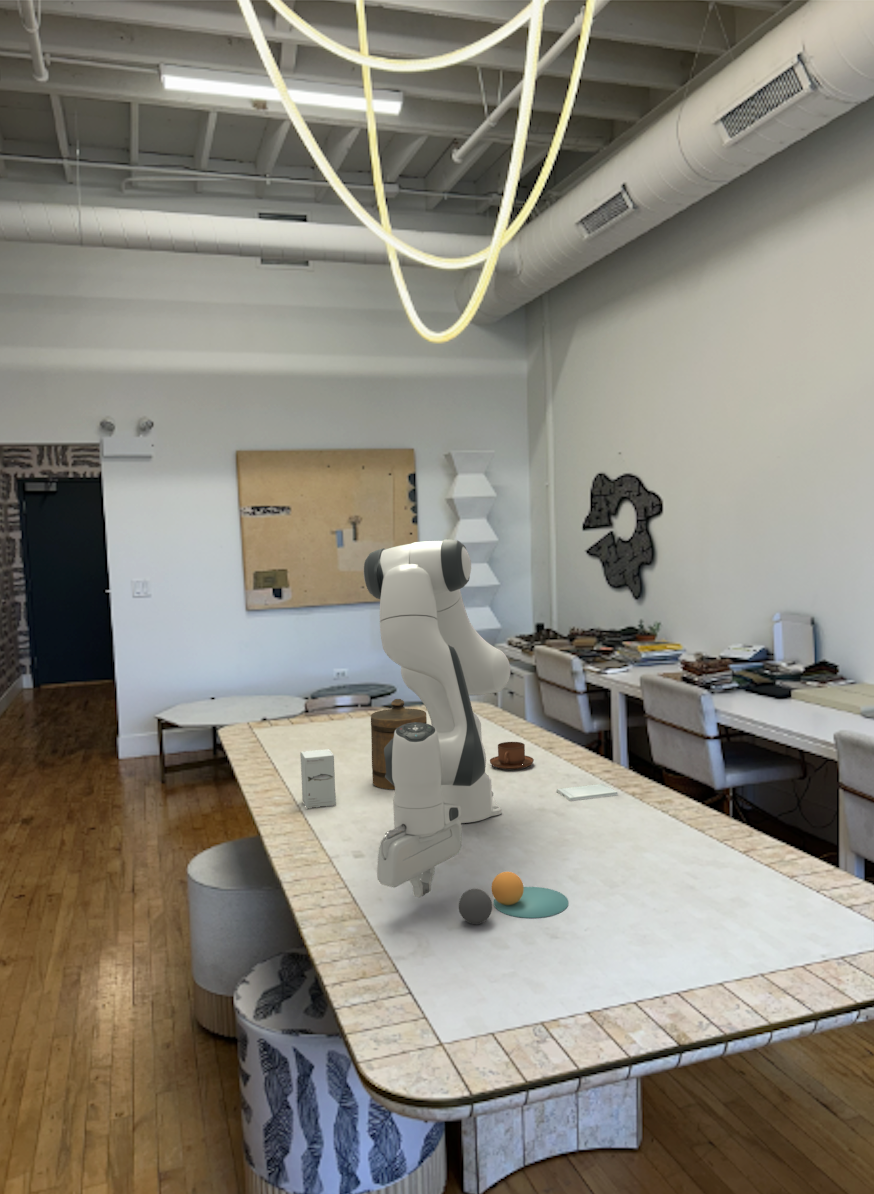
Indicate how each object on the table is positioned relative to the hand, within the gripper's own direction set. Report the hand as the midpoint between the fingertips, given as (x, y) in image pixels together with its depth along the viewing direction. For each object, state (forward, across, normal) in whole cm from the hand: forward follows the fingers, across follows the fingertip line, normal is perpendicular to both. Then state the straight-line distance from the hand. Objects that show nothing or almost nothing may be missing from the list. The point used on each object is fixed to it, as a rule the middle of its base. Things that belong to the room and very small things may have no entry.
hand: (422, 894), depth 163 cm
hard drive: (+2, +73, +5) cm, 73 cm away
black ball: (-1, -2, -13) cm, 13 cm away
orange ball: (-1, +7, -13) cm, 15 cm away
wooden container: (+2, +59, +52) cm, 79 cm away
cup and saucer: (+2, +87, +35) cm, 93 cm away
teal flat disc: (+2, +10, -16) cm, 19 cm away
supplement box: (+2, +34, +58) cm, 68 cm away
